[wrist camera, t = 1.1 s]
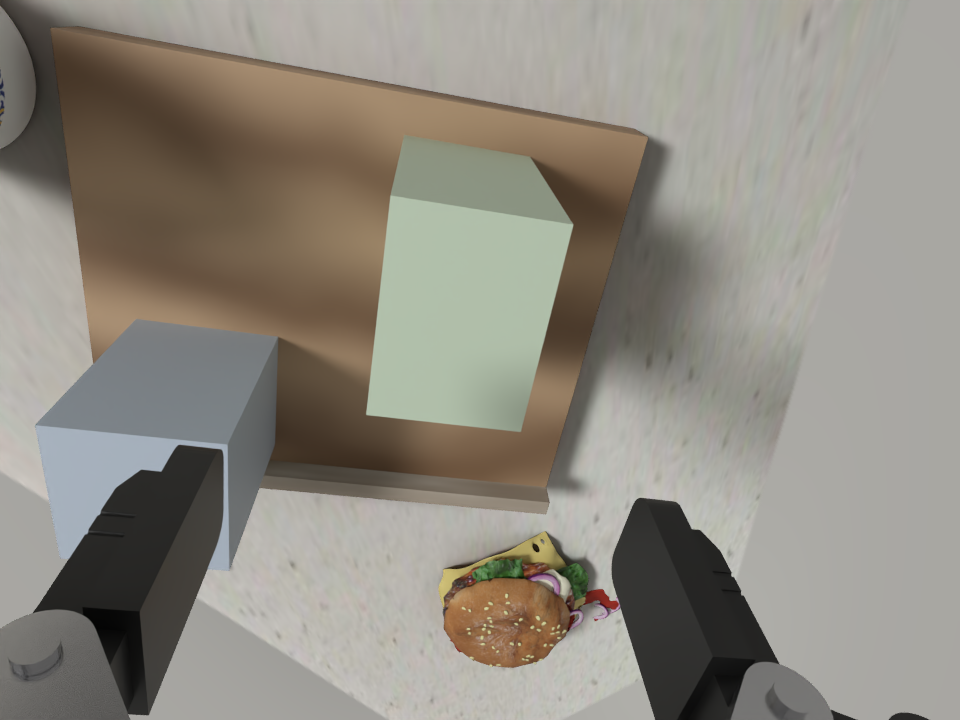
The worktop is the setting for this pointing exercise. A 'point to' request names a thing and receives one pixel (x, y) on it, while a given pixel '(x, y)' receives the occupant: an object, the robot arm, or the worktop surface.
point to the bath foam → (14, 82)
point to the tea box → (465, 286)
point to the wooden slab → (316, 245)
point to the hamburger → (516, 604)
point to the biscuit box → (162, 422)
